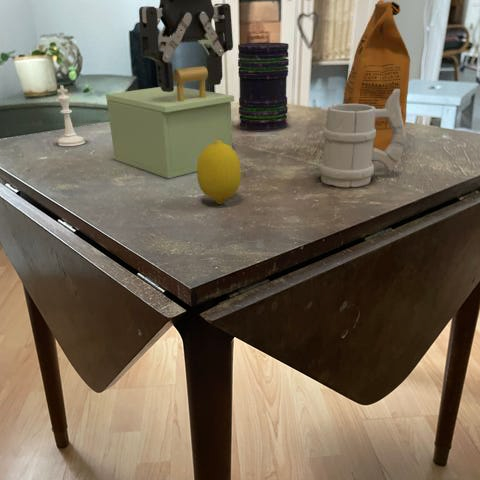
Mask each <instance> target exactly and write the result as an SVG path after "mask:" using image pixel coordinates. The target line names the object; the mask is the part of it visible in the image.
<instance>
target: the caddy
mask: <svg viewBox="0 0 480 480" xmlns="http://www.w3.org/2000/svg"><path fill="white" fill-rule="evenodd" d="M106 104H107V105H106V106H107V112H108V121H109V127H110V129H109V130H110V135H111V143H112V149H113V150H112V151H113V159H114V160H115V161H119V162H121V163H124V164H127V165H129V166H132V167H135V168H138V169H140V170H143V171H146V172H149V173H152V174H154V175H157V176H160V177H163V178H165V179H172V178H175V177H180V176H184V175H188V174H192V173H195V172H196V173H197V165H198V160H199V157H200V154H201V153H202V151H203V150H204V149H205V148H206V147H207V146H209V145H211V144H213V143H214V142H215V141H216V140H220V141H221V142H222V143H224V144H226V145H228V146H230V147H231V148H232V149H233V133H232V132H233V131H232V102H226V103H220V104H214V105H208V106H202V107H196V108H190V109H184V110H178V111H172V112H166V113H165V112H161V111H156V110H152V109H147V108H142V107H138V106H133V105H129V104H124V103H120V102H115V101H111V100H107V99H106Z"/></svg>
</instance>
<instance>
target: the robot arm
mask: <svg viewBox="0 0 480 480" xmlns="http://www.w3.org/2000/svg"><path fill="white" fill-rule="evenodd" d="M158 5H159V6H158V7H155V6H151V5H150V6H148V5H145V6H141V7H139V8H138V16H139V18H138V19H139V37H140V53H141V56H142V57H143V58H148V59H150V60H152V61H153V62H154V63H155V67H156V69H155V70H156V78H157V79H156V80H157V85H158V87H161V90H162V91H164V92H173V90H174V86H175V85H174V79H173V63H172V62H170V60H171V58H172V56H173V54H174V52H175V50H176V49H177V48H178V47H179V46H180V43H182V42H184V43H185V42H190V41H197V42H198V43H199V44H200V45H202V47H203V49H204V50H205V52H206V53H207V56H206V65H207V66H206V69H207V71H208V77H207V82H208V84H209V85H212V86H219V85H221V82H222V80H223V76H224V75H223V74H224V73H223V56H224V54H225V53H226V52H228V51H232V50H233V48H234V39H233V24H232V13H231V12H232V9H231V8H232V7H231V4H229V3H215V4H213V2H212V0H159V4H158ZM212 20H213V21H214V26H213V25H212V23H211V22H212ZM160 23H162V24H163V27H162V29H161V32H160V33H159V28H158V27H159V25H160Z"/></svg>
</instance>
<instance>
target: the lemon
mask: <svg viewBox="0 0 480 480" xmlns="http://www.w3.org/2000/svg"><path fill="white" fill-rule="evenodd" d="M196 178H197V182H198V185H199V188H200V190H201V192H202V193H203V194H204V195H205V196H206V197H207V198H208V199H211V200H214V202H216V203H217V204H218V205H223V204H224V202H225V201H226V200H228V199H230V198H231V197H233V196H234V195H235V194H236V193H237V191H238V190H239V187H240V185H241V181H242V167H241V162H240V158H239V156H238V153H237V152H236V151H235V150H234V149H233V147H232V148H231V147H230V146H228V145H226V144H224V143H222V142H221V141H220V140H216V141H215V142H214V143H213V144H211V145H209V146H207V147H206V148H205V149H204V150H203V151H202V153H201V154H200V157H199V160H198V165H197V171H196Z"/></svg>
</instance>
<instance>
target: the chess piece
mask: <svg viewBox="0 0 480 480" xmlns="http://www.w3.org/2000/svg"><path fill="white" fill-rule="evenodd" d="M56 89H57V88H56ZM56 92H57V93H60V94H61V95H60V96H58V97H57V100H58V102H59V103H60V106H61V110H60V112H59V113H60V114H63V117H64V118H63V119H64V134H63V136H62V137H59V138H58V139H57V145H58V146H60V147H77V146H81V145H84V144H86V140H85V137H84V136H81V135H77V134H78V133H77V132H75V129H74V125H73V122H72V119H71V115H70V114H71V113H73V110H72V109H70V108H69V106H70V101H71V100H70V99H71V98H70V96H69V95H66V93H68V92H69V91H68V89H67V88H65V87H64V85H63V84H62V85H60V86H59V88H58V89H57V90H56Z"/></svg>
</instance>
